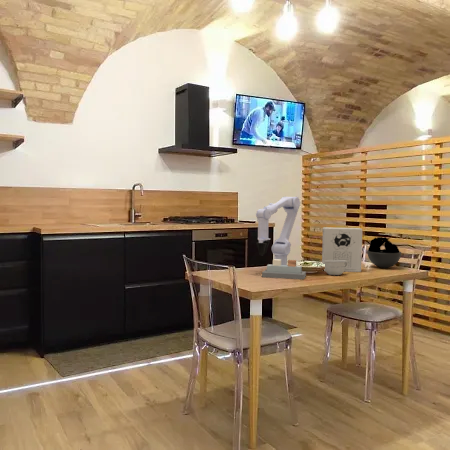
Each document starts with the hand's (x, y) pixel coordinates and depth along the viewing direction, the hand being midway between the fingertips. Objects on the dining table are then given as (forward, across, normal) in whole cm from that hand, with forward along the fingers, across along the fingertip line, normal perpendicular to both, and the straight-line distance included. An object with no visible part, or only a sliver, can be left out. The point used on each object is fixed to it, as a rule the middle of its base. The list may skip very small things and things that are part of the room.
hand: (262, 254), depth 260 cm
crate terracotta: (+4, -7, -17) cm, 19 cm away
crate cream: (+4, -7, -9) cm, 12 cm away
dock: (+10, -7, -13) cm, 18 cm away
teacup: (+11, +10, -40) cm, 43 cm away
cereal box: (+11, +26, -42) cm, 51 cm away
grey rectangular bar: (+8, -7, -13) cm, 17 cm away
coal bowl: (+11, +47, -67) cm, 83 cm away
